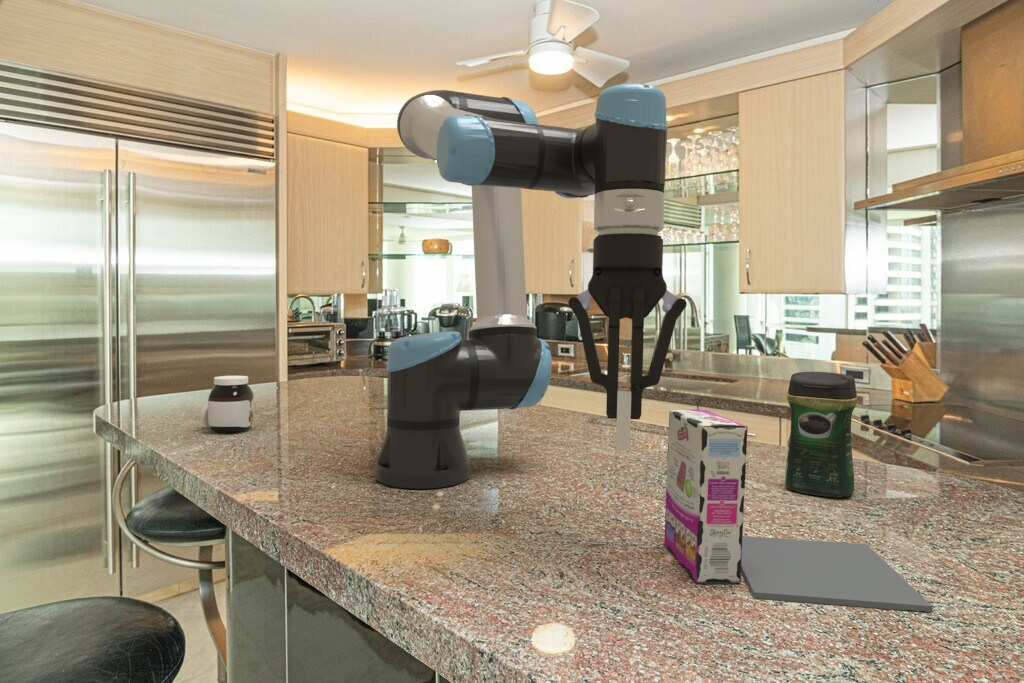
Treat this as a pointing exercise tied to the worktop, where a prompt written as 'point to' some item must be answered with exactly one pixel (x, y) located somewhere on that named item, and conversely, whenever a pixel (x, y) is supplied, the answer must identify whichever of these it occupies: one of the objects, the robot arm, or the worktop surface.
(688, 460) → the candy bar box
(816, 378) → the coffee jar
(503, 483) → the worktop surface
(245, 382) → the spread jar
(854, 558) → the mat
